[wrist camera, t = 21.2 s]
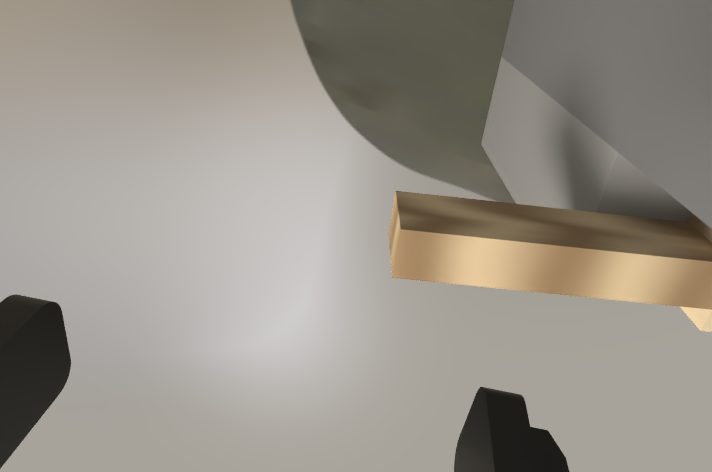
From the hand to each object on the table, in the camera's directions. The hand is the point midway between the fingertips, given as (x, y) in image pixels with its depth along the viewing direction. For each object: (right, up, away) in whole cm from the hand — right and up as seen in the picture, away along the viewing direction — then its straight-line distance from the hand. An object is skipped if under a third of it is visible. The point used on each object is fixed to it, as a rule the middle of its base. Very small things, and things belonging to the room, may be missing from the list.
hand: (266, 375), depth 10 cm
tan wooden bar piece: (+13, +3, +17) cm, 22 cm away
